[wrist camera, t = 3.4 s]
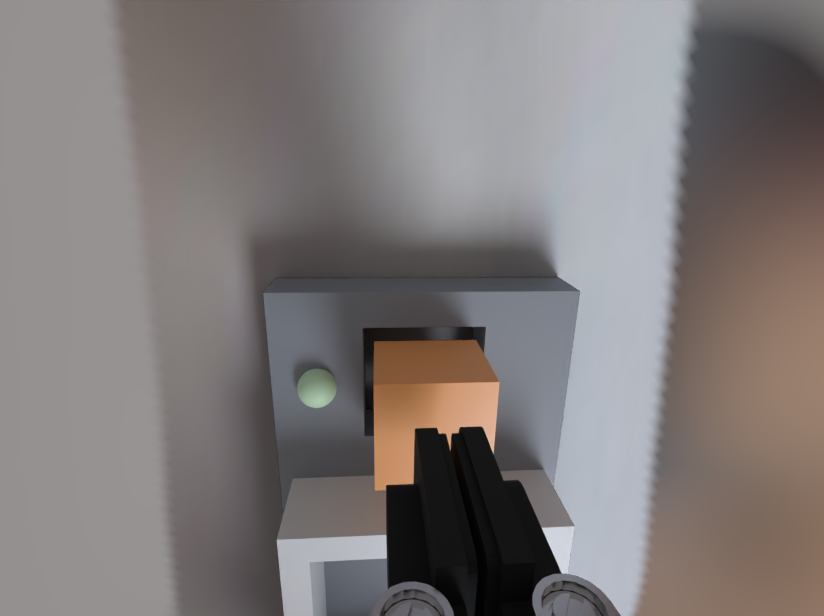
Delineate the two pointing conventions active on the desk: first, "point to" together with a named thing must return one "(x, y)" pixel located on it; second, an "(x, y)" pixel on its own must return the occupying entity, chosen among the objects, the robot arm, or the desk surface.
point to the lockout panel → (354, 424)
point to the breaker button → (427, 399)
